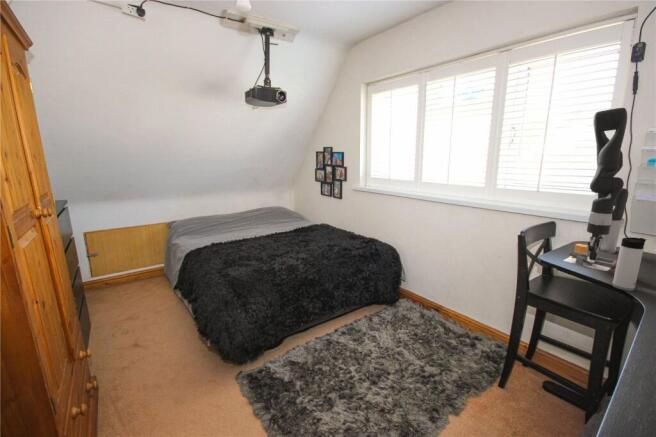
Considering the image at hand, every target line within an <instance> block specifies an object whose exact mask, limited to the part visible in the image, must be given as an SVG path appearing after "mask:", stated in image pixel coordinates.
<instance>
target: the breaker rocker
mask: <svg viewBox="0 0 656 437" xmlns="http://www.w3.org/2000/svg"><path fill="white" fill-rule="evenodd" d="M568 256H569V257H570V256H572V257H574V258H577V256H579V257H584V256H582V255H580V254H578V253H576V252H574V251H570V253H569V255H568ZM583 262H585V263H587V264H589V265H593V264H594V263H595V261H594V260H590V259H589V258H586V257H584V259H583Z"/></svg>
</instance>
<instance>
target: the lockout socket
mask: <svg viewBox="0 0 656 437" xmlns="http://www.w3.org/2000/svg"><path fill="white" fill-rule="evenodd" d="M597 260H599V261H597ZM601 261H603V262H601ZM616 261H617V259H611V258H605V257H602V256H597V258H596V260H595V263H594V264H597V265H602V266H606V267H610V269H614V268H615V265H616ZM606 262H608V263H606ZM610 263H611V264H610Z"/></svg>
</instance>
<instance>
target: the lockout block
mask: <svg viewBox="0 0 656 437" xmlns="http://www.w3.org/2000/svg"><path fill="white" fill-rule="evenodd" d="M588 251H589V248H588V244H582V243H576V244H575V245H574V249H573V252H576V253H578V254H580V255H581V254H586V255H588Z"/></svg>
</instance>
